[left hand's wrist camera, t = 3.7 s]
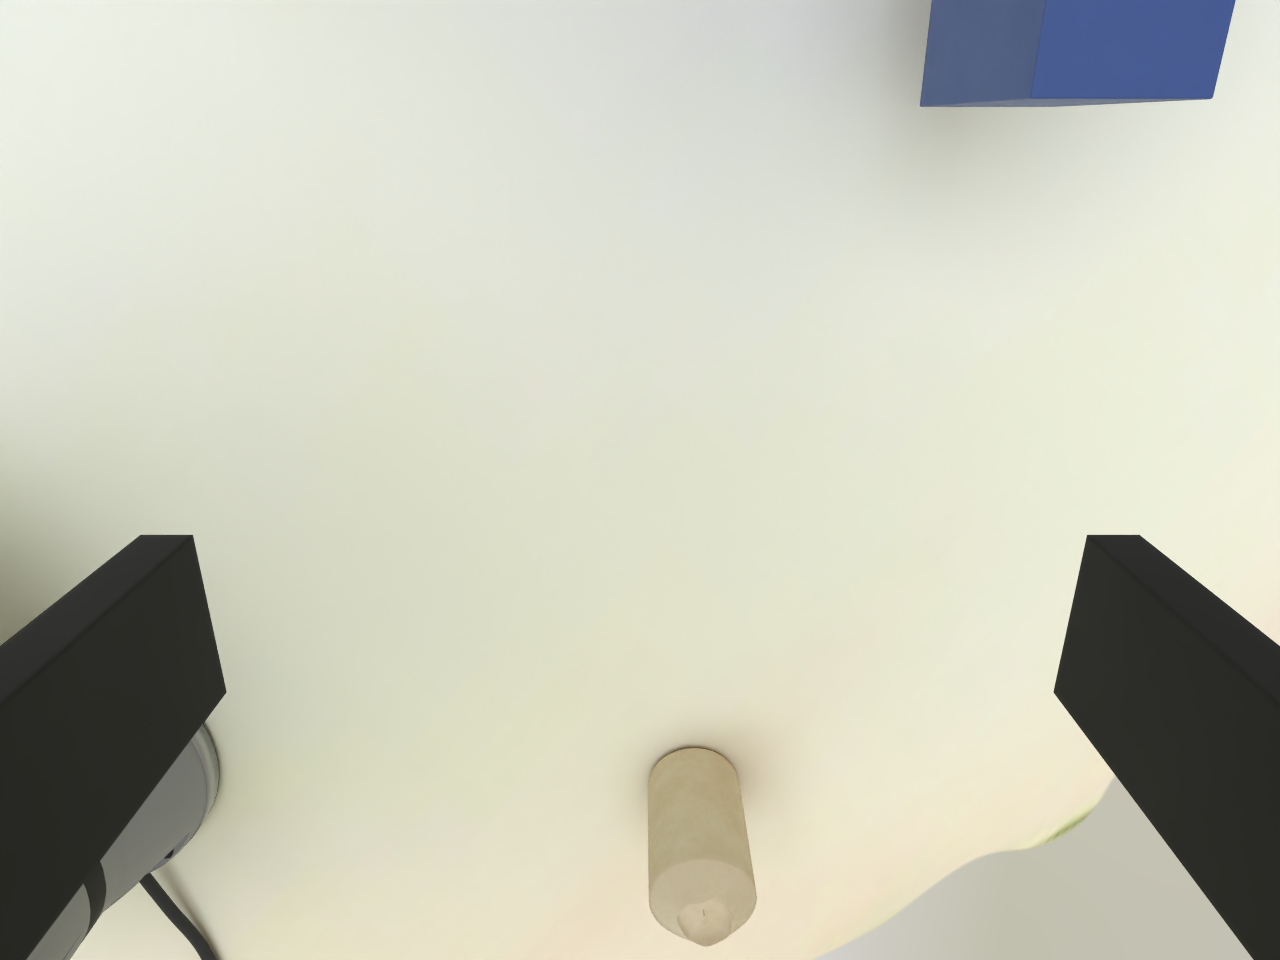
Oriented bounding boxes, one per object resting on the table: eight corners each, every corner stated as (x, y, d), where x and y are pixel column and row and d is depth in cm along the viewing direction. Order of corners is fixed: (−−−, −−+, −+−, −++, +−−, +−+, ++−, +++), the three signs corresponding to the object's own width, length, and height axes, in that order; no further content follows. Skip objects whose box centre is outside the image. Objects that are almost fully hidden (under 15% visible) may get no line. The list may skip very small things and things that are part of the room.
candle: (632, 765, 51) (630, 905, 42) (717, 733, 50) (734, 868, 41) (670, 830, 53) (676, 977, 44) (752, 800, 52) (777, 944, 43)
